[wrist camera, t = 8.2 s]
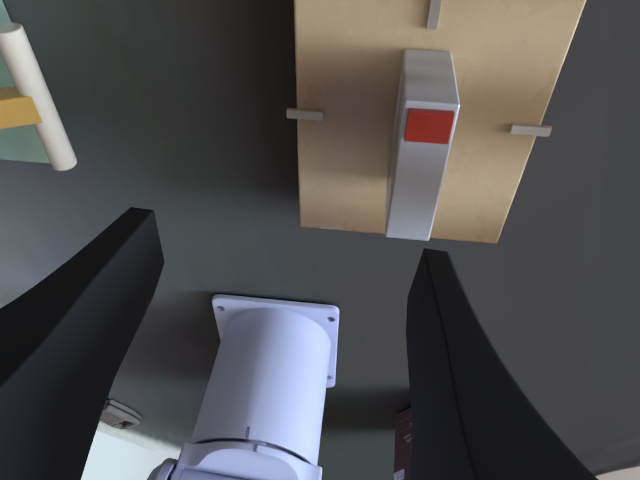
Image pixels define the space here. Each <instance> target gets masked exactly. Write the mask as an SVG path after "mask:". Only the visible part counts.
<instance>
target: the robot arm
mask: <svg viewBox="0 0 640 480" xmlns="http://www.w3.org/2000/svg"><path fill="white" fill-rule="evenodd" d="M163 265H164V258H163V253H162V248H161V244H160V239H159V234H158V229H157V224H156V219H155V214H154V210H148V209H141V208H134V207H131V208H129V209H128V210H127V211H126V212H125V213H123V214H122V215H121V216H120V217H119V218H118V219H116V220H115V221H114V222H113V223H112V224H111V225H110V226H108V227H107V228H106V229H105V230H104V231H103V232H102V233H100V234H99V235H98V236H97V237H96V238H95V239H94V240H92V241H91V242H90V243H89V244H88V245H86V246H85V247H84V248H83V249H82V250H80V251H79V252H78V253H77V254H76V255H74V256H73V257H72V258H71V259H70V260H68V261H67V262H66V263H65V264H63V265H62V266H61V267H59V268H58V269H57V270H55V271H54V272H53V273H51V274H50V275H49V276H47V277H46V278H45V279H44V280H42V281H41V282H40V283H38V284H37V285H35V286H34V287H33V288H31V289H30V290H28V291H27V292H25V293H24V294H23V295H21V296H20V297H18V298H17V299H15V300H14V301H12V302H10V303H9V304H7V305H6V306H4V307H3V308H1V309H0V480H81V477H82V474H83V470H84V467H85V464H86V461H87V457H88V454H89V451H90V447H91V444H92V441H93V438H94V435H95V432H96V429H97V426H98V423H99V420H100V417H101V414H102V411H103V409H104V406H105V403H106V400H107V397H108V395H109V392H110V389H111V386H112V384H113V381H114V378H115V376H116V374H117V371H118V369H119V367H120V364H121V362H122V360H123V358H124V356H125V354H126V352H127V350H128V348H129V346H130V344H131V342H132V340H133V338H134V336H135V333H136V331H137V329H138V327H139V325H140V323H141V321H142V319H143V317H144V315H145V313H146V311H147V308H148V306H149V304H150V302H151V300H152V298H153V296H154V293H155V290H156V287H157V284H158V281H159V278H160V275H161V271H162V268H163ZM212 305H213V310H214V314H215V319H216V323H217V327H218V332H219V336H220V340H221V343H220V346H219V349H218V353H217V356H216V359H215V362H214V366H213V369H212V372H211V376H210V379H209V382H208V386H207V389H206V392H205V396H204V399H203V402H202V406H201V409H200V412H199V416H198V419H197V422H196V426H195V429H194V432H193V436H192V439H191V442H190V443H189V442H184V443H183V446H182V450H181V453H180V456H179V459H178V460H176V459H172V458H168V459H166V460H165V461H164V462H163V463H162V464H161V465H159V466H158V467H156V468H155V469H154V470H153V471H152V472H151V474H150V475H149V477H148V479H147V480H321V476H322V467H320V466H317V462H318V453H319V444H320V436H321V427H322V418H323V410H324V401H325V393H326V387H327V388H330V387H333V386H334V385H335V374H336V357H337V341H338V325H339V309H338V308H337V307H336V306H334V305H326V304H316V303H305V302H295V301H285V300H275V299H264V298H254V297H244V296H234V295H223V294H217V295H214V296H213V299H212ZM406 340H407V355H408V369H409V383H410V397H411V417H412V432H411V464H410V480H598V479H597V478H596V477H595V476H594V475H593V474H592V473H591V472H590V471H589V470H588V469H587V468H586V467H585V466H584V465H583V464H582V463H581V461H580V460H579V459H578V458H577V457H576V456H575V455H574V454H573V453H572V451H571V450H570V449H569V448H568V447H567V446H566V445H565V444H564V443H563V441H562V440H561V439H560V438H559V436H558V435H557V434H556V433H555V431H554V430H553V429H552V428H551V427H550V425H549V424H548V423H547V422H546V420H545V419H544V418H543V417H542V416H541V414H540V413H539V412H538V411H537V409H536V408H535V407H534V406H533V404H532V403H531V401H530V400H529V399H528V397H527V396H526V395H525V393H524V392H523V391H522V389H521V388H520V386H519V385H518V383H517V382H516V381H515V379H514V378H513V376H512V375H511V373H510V372H509V370H508V369H507V367H506V366H505V364H504V362H503V361H502V359H501V358H500V356H499V354H498V353H497V351H496V349H495V348H494V346H493V344H492V342H491V341H490V339H489V337H488V335H487V334H486V332H485V330H484V328H483V326H482V324H481V322H480V320H479V319H478V317H477V315H476V313H475V311H474V309H473V307H472V305H471V303H470V301H469V299H468V296H467V294H466V292H465V290H464V288H463V285H462V283H461V281H460V279H459V276H458V274H457V271H456V269H455V266H454V264H453V261H452V259H451V256H450V254H449V253H448V252H446V251H439V250H432V249H425V248H424V250H423V253H422V256H421V259H420V262H419V265H418V268H417V271H416V274H415V277H414V280H413V283H412V286H411V289H410V292H409V295H408V302H407V321H406Z"/></svg>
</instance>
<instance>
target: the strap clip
mask: <svg viewBox="0 0 640 480" xmlns="http://www.w3.org/2000/svg"><path fill="white" fill-rule="evenodd" d="M125 420H127V421H125ZM100 421H102V422H104V423H106V424H108V425H109V426H111V427H115V428H119V429H127V428H130V427H133V426H136V425H138V424H139V423H140V421H141V417H140V415H138V414H137V413H136V412H135V411H134V410H132V409H130V408H128V407H126V406H124V405H122V404H120V403H118V402H116V401H114V400H106V403H105V406H104V409H103V411H102V414H101V417H100Z"/></svg>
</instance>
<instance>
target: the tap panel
mask: <svg viewBox="0 0 640 480" xmlns="http://www.w3.org/2000/svg"><path fill="white" fill-rule="evenodd" d="M585 2H586V0H294V26H295V65H296V103H297V109H294V108H287V110H286V111H287V118H291V119H297V142H298V181H299V220H300V226H301V227H310V228H321V229H333V230H344V231H356V232H367V233H379V234H385V219H386V188H387V173H388V166H389V158H390V150H391V143H392V135H393V127H394V120H395V112H396V104H397V97H398V89H399V82H400V74H401V66H402V59H403V52H404V50H405V49H410V50H427V51H444V52H451V53H452V58H453V65H454V71H455V77H456V83H457V89H458V95H459V102H460V109H459V113H458V118H457V122H456V126H455V131H454V135H453V139H452V143H451V148H450V152H449V156H448V161H447V165H446V169H445V174H444V178H443V182H442V187H441V191H440V195H439V200H438V204H437V208H436V213H435V217H434V221H433V226H432V230H431V234H430V238H437V239H449V240H460V241H472V242H483V243H497V242H498V239H499V236H500V233H501V231H502V228H503V225H504V222H505V220H506V217H507V214H508V212H509V209H510V206H511V203H512V201H513V198H514V195H515V193H516V190H517V187H518V184H519V182H520V179H521V176H522V174H523V171H524V168H525V165H526V163H527V160H528V157H529V155H530V152H531V149H532V146H533V144H534V141H535V138H536V136H547V137H549V135H550V132H551V130H552V127H551V126H541V122H542V119H543V117H544V114H545V111H546V108H547V106H548V103H549V100H550V98H551V95H552V92H553V89H554V87H555V84H556V81H557V79H558V76H559V73H560V70H561V68H562V65H563V62H564V60H565V57H566V54H567V51H568V49H569V46H570V43H571V41H572V38H573V35H574V32H575V30H576V27H577V24H578V21H579V19H580V16H581V13H582V11H583V8H584V5H585Z"/></svg>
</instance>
